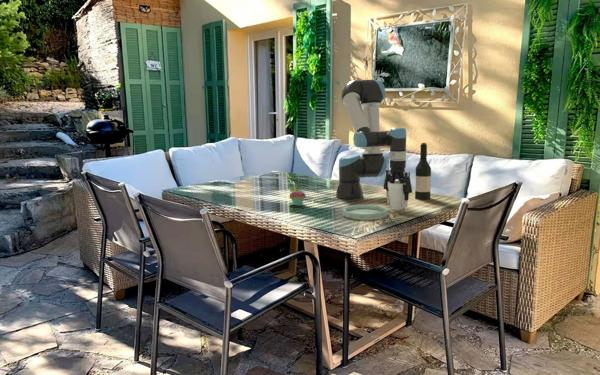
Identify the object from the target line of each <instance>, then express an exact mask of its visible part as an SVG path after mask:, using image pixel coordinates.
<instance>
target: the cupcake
mask: <svg viewBox="0 0 600 375" xmlns="http://www.w3.org/2000/svg"><path fill="white" fill-rule="evenodd" d="M293 189H294V191H291V193H290V194H289V199H291V201H292V204H293V205H294V206H302V205H303V203H304V200H305V199H306V198H307V196H306V195H307V194H306V193H305V192H304V191H302V190H296V183H295V182H293Z"/></svg>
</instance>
